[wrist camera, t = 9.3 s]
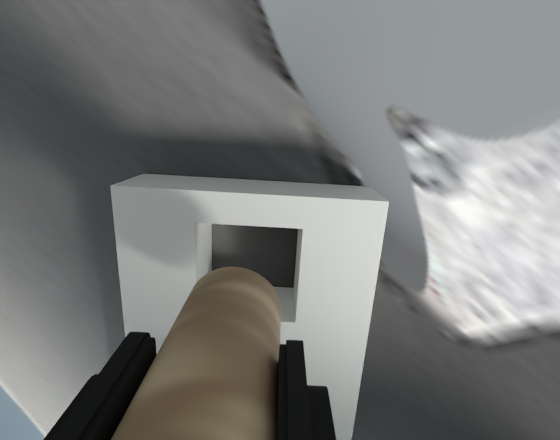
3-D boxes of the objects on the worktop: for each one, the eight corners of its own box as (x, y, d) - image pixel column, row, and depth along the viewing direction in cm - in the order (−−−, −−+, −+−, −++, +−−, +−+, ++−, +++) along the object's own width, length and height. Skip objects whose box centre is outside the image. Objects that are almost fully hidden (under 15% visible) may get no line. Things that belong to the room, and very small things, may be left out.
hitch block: (369, 186, 20) (389, 201, 16) (335, 432, 26) (343, 486, 22) (143, 173, 20) (110, 185, 16) (160, 423, 26) (138, 475, 22)
